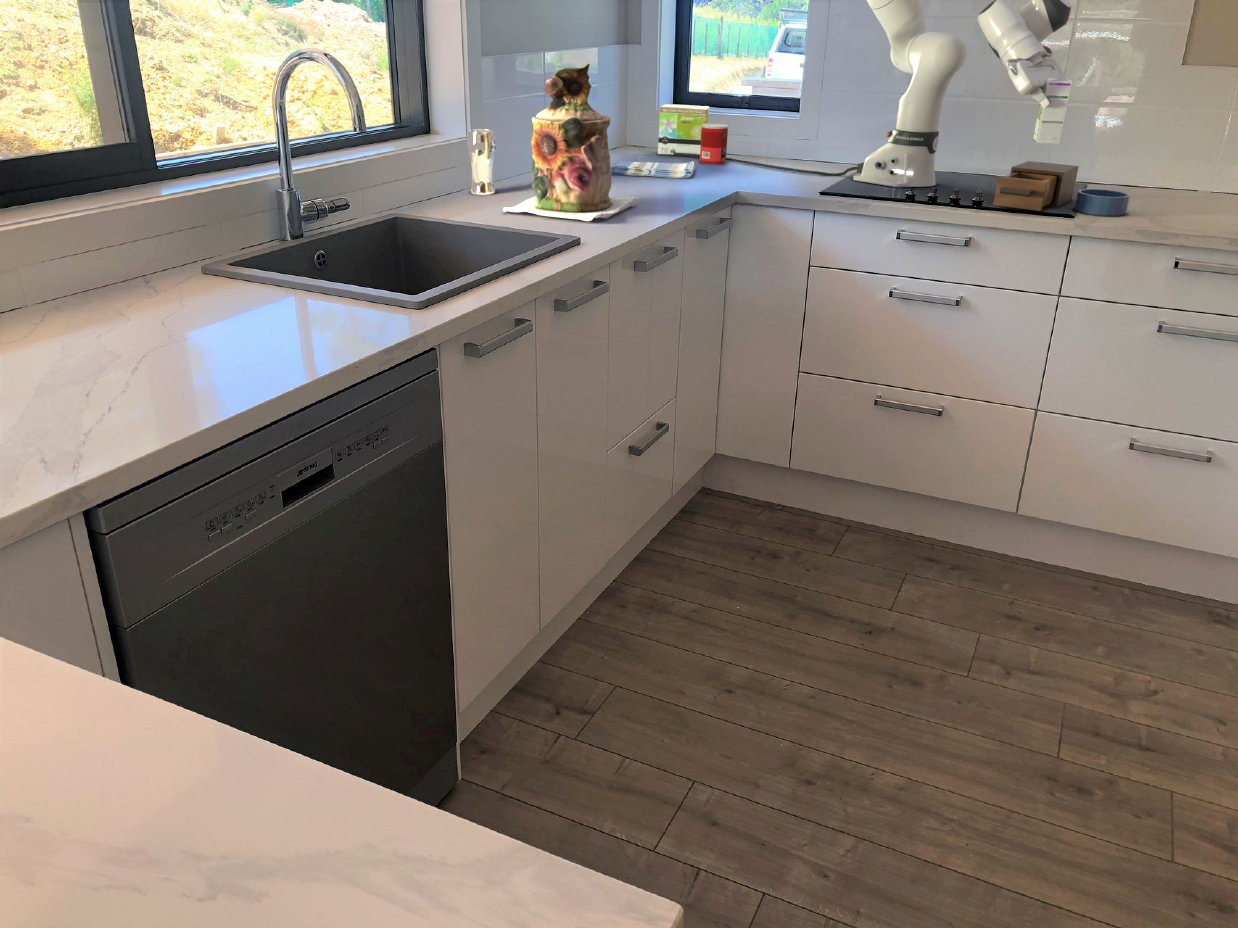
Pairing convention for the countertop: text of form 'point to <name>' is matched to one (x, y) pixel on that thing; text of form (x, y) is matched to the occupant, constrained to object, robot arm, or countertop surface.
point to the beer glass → (482, 160)
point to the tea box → (681, 128)
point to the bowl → (1102, 202)
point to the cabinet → (1063, 172)
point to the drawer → (1025, 190)
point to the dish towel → (654, 169)
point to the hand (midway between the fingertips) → (1056, 105)
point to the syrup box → (1053, 112)
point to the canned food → (713, 143)
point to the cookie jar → (571, 154)
